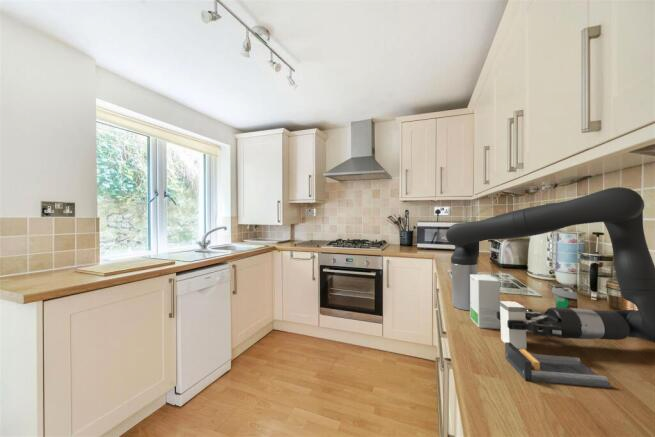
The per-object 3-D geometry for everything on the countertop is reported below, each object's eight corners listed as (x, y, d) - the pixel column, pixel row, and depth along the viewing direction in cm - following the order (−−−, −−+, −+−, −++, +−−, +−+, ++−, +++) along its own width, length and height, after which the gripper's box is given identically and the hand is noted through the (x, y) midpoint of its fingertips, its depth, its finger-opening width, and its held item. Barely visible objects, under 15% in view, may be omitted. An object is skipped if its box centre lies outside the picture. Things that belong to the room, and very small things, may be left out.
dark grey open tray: (505, 358, 64) (505, 342, 64) (576, 363, 60) (576, 346, 60) (525, 380, 55) (524, 361, 55) (610, 388, 52) (609, 368, 52)
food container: (551, 309, 96) (550, 282, 96) (574, 312, 92) (573, 285, 93) (553, 319, 87) (552, 290, 87) (578, 323, 83) (577, 292, 83)
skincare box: (470, 318, 90) (468, 274, 90) (490, 319, 88) (489, 274, 88) (479, 328, 81) (477, 279, 82) (502, 329, 80) (500, 279, 80)
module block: (501, 339, 74) (499, 301, 74) (516, 340, 73) (515, 301, 73) (509, 347, 69) (508, 306, 69) (526, 349, 68) (525, 307, 68)
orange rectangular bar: (520, 357, 62) (519, 348, 62) (524, 357, 61) (524, 349, 61) (534, 371, 56) (534, 362, 56) (539, 371, 55) (539, 362, 56)
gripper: (554, 300, 75) (491, 298, 78) (594, 319, 61) (515, 315, 64) (555, 326, 75) (491, 323, 78) (596, 350, 61) (516, 345, 64)
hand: (502, 319), depth 71 cm, fingers open, 6 cm apart
